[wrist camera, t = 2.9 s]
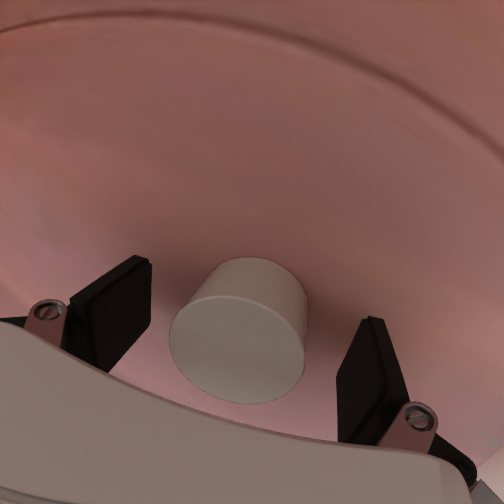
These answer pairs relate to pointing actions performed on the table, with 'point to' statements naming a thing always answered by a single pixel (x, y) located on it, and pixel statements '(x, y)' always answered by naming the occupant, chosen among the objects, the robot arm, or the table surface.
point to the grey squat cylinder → (243, 332)
